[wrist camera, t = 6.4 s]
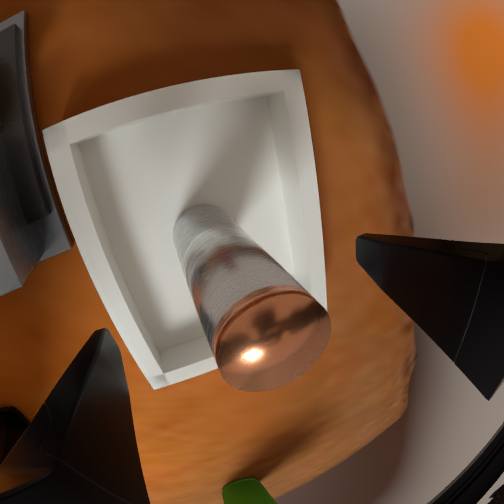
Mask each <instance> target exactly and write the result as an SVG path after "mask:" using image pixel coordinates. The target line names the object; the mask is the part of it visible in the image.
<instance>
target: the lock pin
mask: <svg viewBox="0 0 504 504" xmlns="http://www.w3.org/2000/svg"><path fill="white" fill-rule="evenodd" d="M173 241H174V245H175V248H176V251H177V255H178V258H179V261H180V264H181V267H182V270H183V273H184V276H185V279H186V282H187V285H188V288H189V291H190V294H191V297H192V300H193V302H194V305H195V308H196V311H197V314H198V316H199V319H200V322H201V325H202V327H203V330H204V333H205V335H206V338H207V341H208V343H209V346H210V348H211V351H212V353H213V356H214V359H215V361H216V364H217V366H218V369H219V371H220V373H221V375H222V377H223V379H224V380H225V381H226V382H227V383H228V384H230V385H231V386H233V387H235V388H237V389H240V390H244V391H251V392H259V391H266V390H271V389H275V388H278V387H280V386H283V385H285V384H287V383H289V382H291V381H293V380H295V379H296V378H298V377H299V376H301V375H302V374H303V373H305V372H306V371H307V370H308V369H309V368H310V367H311V366H312V365H313V364H314V363H315V362H316V361H317V360H318V358H319V357H320V356H321V354H322V353H323V351H324V349H325V347H326V345H327V343H328V340H329V337H330V332H331V321H330V317H329V315H328V313H327V311H326V310H325V308H324V307H323V306H322V305H321V304H320V303H319V302H318V301H317V300H316V299H315V298H314V297H313V296H312V295H311V294H310V293H309V292H308V291H307V290H305V289H304V288H303V287H302V286H301V285H300V284H299V283H298V282H297V281H296V280H295V279H294V278H293V277H292V276H291V275H290V274H289V273H288V272H287V271H286V270H285V269H284V268H283V267H282V266H281V265H280V264H279V263H278V262H277V261H276V260H275V259H274V258H272V257H271V256H270V255H269V254H268V253H267V252H266V251H265V250H264V249H263V248H262V247H261V246H260V245H259V244H258V243H257V242H256V241H255V240H254V239H253V238H252V237H251V236H250V235H249V234H248V233H247V232H245V231H244V230H243V229H242V228H241V227H240V226H239V225H238V224H237V223H236V222H235V221H234V220H233V219H232V218H231V217H230V216H229V215H228V214H227V213H226V212H225V211H223V210H222V209H221V208H219V207H217V206H215V205H212V204H197V205H194V206H191V207H190V208H188V209H186V210H185V211H184V212H183V213H181V215H180V216H179V217H178V219H177V220H176V222H175V225H174V228H173Z"/></svg>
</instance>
